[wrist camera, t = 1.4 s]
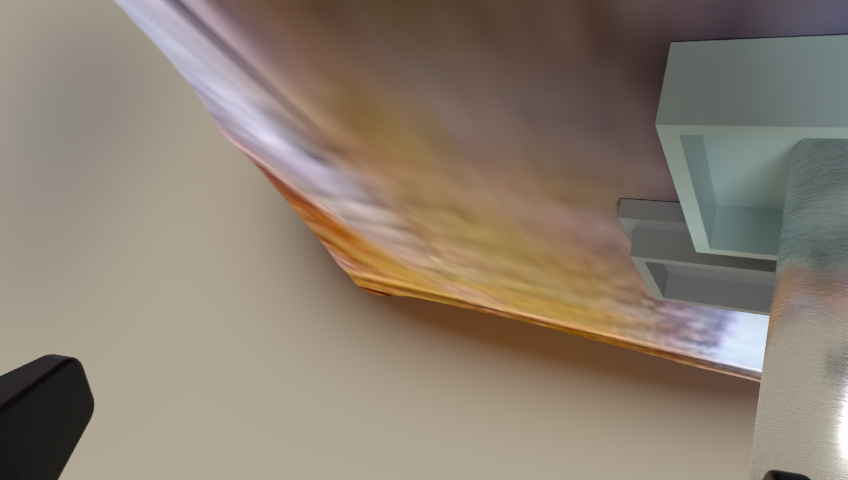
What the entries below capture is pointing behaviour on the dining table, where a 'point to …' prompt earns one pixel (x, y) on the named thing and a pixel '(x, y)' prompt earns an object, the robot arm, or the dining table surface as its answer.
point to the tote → (746, 131)
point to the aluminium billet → (808, 324)
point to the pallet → (691, 262)
